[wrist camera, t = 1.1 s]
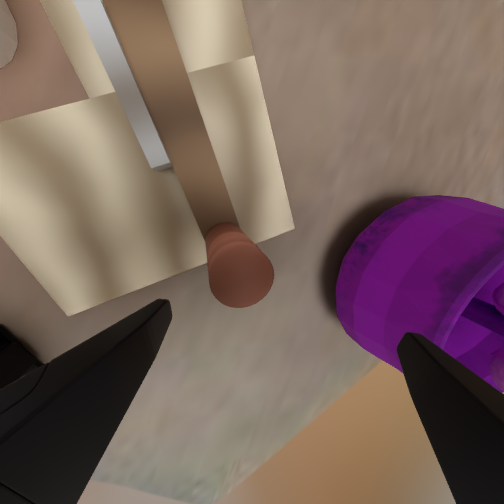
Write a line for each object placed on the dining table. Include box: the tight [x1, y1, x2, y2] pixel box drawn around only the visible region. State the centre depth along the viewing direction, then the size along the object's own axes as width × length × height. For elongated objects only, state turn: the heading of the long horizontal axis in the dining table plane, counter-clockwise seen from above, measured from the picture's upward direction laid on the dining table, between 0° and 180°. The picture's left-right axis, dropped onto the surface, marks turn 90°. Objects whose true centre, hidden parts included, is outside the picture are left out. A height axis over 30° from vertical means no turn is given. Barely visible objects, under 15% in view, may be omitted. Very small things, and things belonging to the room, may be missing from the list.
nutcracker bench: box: [0, 0, 295, 317], centre depth 12 cm, size 24×27×6 cm
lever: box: [73, 0, 274, 308], centre depth 10 cm, size 22×5×9 cm, turn 17°
